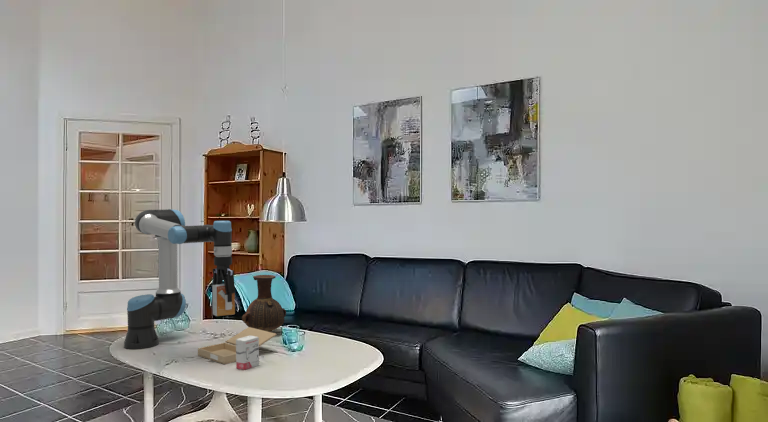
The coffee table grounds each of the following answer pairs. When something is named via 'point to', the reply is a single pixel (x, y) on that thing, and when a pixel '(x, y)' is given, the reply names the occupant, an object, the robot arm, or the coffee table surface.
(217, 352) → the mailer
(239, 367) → the ink box
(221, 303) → the small box
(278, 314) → the vase
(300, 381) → the coffee table surface
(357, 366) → the coffee table surface
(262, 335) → the lid
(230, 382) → the coffee table surface
